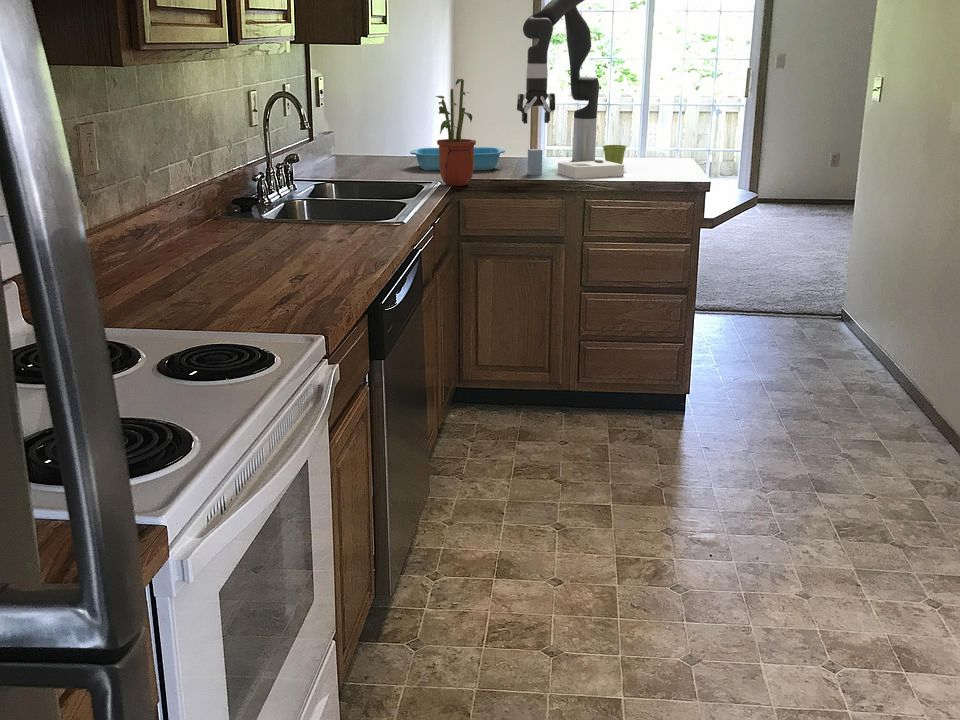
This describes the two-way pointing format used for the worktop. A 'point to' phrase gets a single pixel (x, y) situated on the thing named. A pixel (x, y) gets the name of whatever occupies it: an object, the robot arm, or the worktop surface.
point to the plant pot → (614, 153)
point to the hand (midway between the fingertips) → (535, 123)
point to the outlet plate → (590, 169)
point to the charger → (534, 162)
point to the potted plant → (455, 145)
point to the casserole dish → (482, 158)
